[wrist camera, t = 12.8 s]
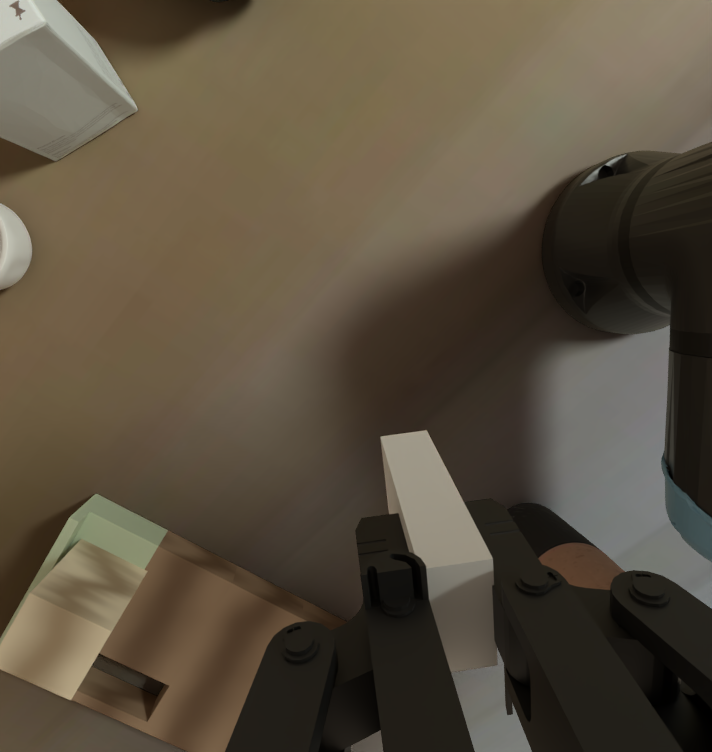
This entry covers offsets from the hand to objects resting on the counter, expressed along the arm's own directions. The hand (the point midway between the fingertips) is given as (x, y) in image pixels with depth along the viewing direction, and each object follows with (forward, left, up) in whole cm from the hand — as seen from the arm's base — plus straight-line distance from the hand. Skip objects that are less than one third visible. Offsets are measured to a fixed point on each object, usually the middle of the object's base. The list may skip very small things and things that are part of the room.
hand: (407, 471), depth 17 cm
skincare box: (+25, -16, -29) cm, 42 cm away
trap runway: (+6, +29, -29) cm, 42 cm away
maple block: (+17, +22, -26) cm, 38 cm away
